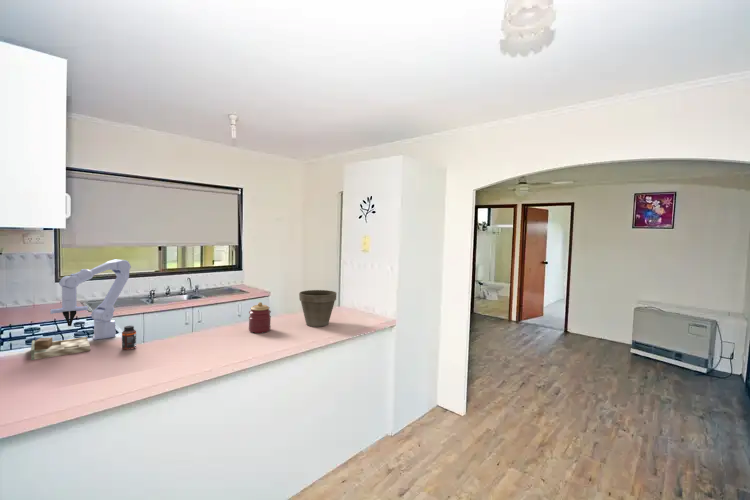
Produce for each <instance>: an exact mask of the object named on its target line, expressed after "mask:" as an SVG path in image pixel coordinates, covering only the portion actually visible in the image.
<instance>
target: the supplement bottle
mask: <svg viewBox="0 0 750 500" xmlns="http://www.w3.org/2000/svg"><path fill="white" fill-rule="evenodd" d="M123 328H124V329H123V330H122V332H121V347H122V348H121V349H122V350H124V351H129V350H134V349H135V347H136V348H137V330H136V329H135V326H134V325H127V326H124V327H123ZM135 345H136V346H135Z"/></svg>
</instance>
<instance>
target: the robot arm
mask: <svg viewBox="0 0 750 500" xmlns="http://www.w3.org/2000/svg"><path fill="white" fill-rule="evenodd" d="M131 268H132V266H131V264H130V262H129V261H128V260H125V259H116V258H114V259H111V260H108V261H106V262H103V263H101V264H99V265H97V266H95V267H93V268H91V269H88V268H82V269H80V271H77V272H75V273H70V275H65V276H63V277H61V278H60V280H59V282H58V284H59V286H60V287H61V307H60V308H52V309H50V315H53V314H61V313H62V316H63V317H64V318H65V321H66V323H67V327H71V326H72V325H73V322H74V321H73V320H74V318H75V317H76V314H77V312H82V311H85V312H86V311H88V309H89V307H88V305H85V306H83V305H82V306H77V305H78V304H77V301H78V299H77V295H78V293H77V290H78V289H77V287H78V286H79V285H80V284H82V283H84V282H87V281H88V280H91V279H93V277H94V276H95V275H98V274H101V273H104V272H105V271H108V270H111V271H112V272H113V273H114V274H115V276H116V278H115V279H114V281H113V283H112V284H111V287H110V288H109V290H108V292H107V294H106V296H105V297H104V299H103V301H102V302H101V303H100V304H98V305H97V307H96V308H94V310H93V311H91V318H92V319H93V327H94V328H93V330H94V331H93V335H92V338H93V340H94V341H95V340H101V339H102V340H103V339H109V338H116V337H117V336H116V333H117V332H116V320H115V319H113V317H114V312H115V310H116V309H115V303H116V302H117V300H118V299H119V297H120V295H121V293H122V291H123V289H124V288H125V285H127V282H128V280H129V278H130V270H131Z"/></svg>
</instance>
